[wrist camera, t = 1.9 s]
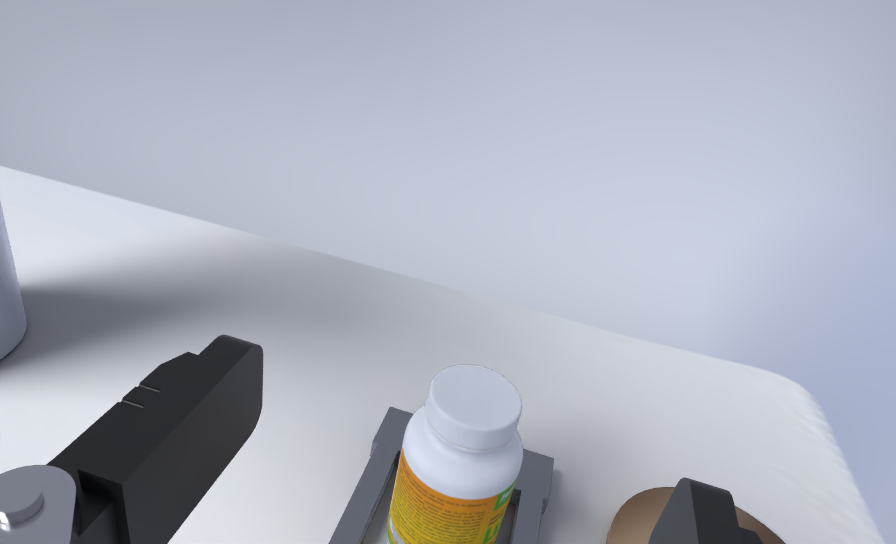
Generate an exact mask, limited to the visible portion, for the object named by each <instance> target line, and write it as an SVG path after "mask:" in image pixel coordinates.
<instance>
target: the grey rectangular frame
mask: <svg viewBox="0 0 896 544" xmlns="http://www.w3.org/2000/svg"><path fill="white" fill-rule="evenodd" d="M413 415H414V414H412V413H409V412H406V411H402V410H399V409H396V408H393V407H390V408H389V410H388V412H387V414H386V416H385V418H384V420H383V422H382V424H381V426H380V428H379V430H378V432H377V434H376V436H375V438H374V440H373V442H372V448H371V455H370V457H371V458H370V460H369V462H368V464H367V466H366V468H365V470H364V472H363V474H362V476H361V478H360V481H359V483H358V485H357V487H356V489H355V491H354V493H353V495H352V497H351V499H350V501H349V503H348V505H347V507H346V509H345V511H344V513H343V515H342V517H341V519H340V521H339V523H338V525H337V527H336V529H335V532H334V534H333V536H332V538H331V540H330V542H329V544H361V543H362V541H363V538H364V536H365V534H366V531H367V529H368V527H369V525H370V522H371V520H372V518H373V515H374V513H375V511H376V508H377V506H378V504H379V502H380V499H381V497H382V495H383V492H384V490H385V488H386V485H387V483H388V481H389V478H390V476H391V474H392V472H393V469H394V467H395V465H396V466H398V465H399V460H400V455H401V450H402V444H403V439H404V435H405V431H406V428H407V425H408V423H409V421H410V419H411V417H412V416H413ZM553 462H554V458H551V457H547V456H544V455H541V454H538V453H535V452H532V451H528V450H525V449H523V459H522V464H521V468H520V471H519V474H518V477H517V480H516V483H515V486H514V489H513V492H512V494H511V497H510V500H509V503H511V504H514V505H516V510H515V515H514V521H513V526H512V532H511V537H510V543H509V544H537V542H538V534H539V527H540V519H541V513H542V514H543V513H544V511H545V508H546V506H547V503H548V500H549V495H550V486H551V478H552V470H553Z"/></svg>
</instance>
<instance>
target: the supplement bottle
mask: <svg viewBox="0 0 896 544" xmlns="http://www.w3.org/2000/svg"><path fill="white" fill-rule="evenodd" d="M521 411H522V401H521V397H520V395H519V393H518V391H517V389H516V388H515V386H514V385H513V384H512V383H511V382H510V381H509V380H508V379H506V378H505V377H504V376H502V375H501V374H499V373H497V372H495V371H493V370H491V369H488V368H485V367H481V366H476V365H456V366H451V367H449V368H446V369H444V370H442V371H441V372H439V373H438V374H437V375H436V376H435V378H434V379H433V381H432V383H431V385H430V390H429V394H428V397H427V400H426V404H424V405H423V406H422V407H420V408H419V409H418V410H417V411H416V412H415V413H414V415H413V416H412V417H411V419H410V421H409V423H408V425H407V428H406V431H405V435H404V439H403V444H402V450H401V455H400V460H399V465H398V470H397V475H396V480H395V485H394V490H393V495H392V500H391V505H390V511H389V516H388V522H387V541H388V544H495V541H496V538H497V535H498V533H499V529H500V527H501V523H502V520H503V517H504V515H505V512H506V509H507V506H508V503H509V500H510V497H511V494H512V492H513V489H514V486H515V483H516V480H517V477H518V474H519V471H520V468H521V464H522V459H523V446H522V441H521V438H520V435H519V433H518V431H517V429H516V428H517V425H518V422H519V418H520V415H521Z"/></svg>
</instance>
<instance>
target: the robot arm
mask: <svg viewBox="0 0 896 544" xmlns="http://www.w3.org/2000/svg"><path fill="white" fill-rule="evenodd" d="M26 330H27V319H26V314H25V310H24V305H23V301H22V297H21V292H20V288H19V283H18V279H17V274H16V268H15V264H14V260H13V255H12V251H11V246H10V242H9V238H8V233H7V229H6V224H5V220H4V216H3V211H2V207H1V202H0V359H2V358H3V357H4V356H6V355H7V354H8V353H9V352H11V351H12V350H13V349H14V348H15V347H16V346H17V345H18V343H19V342H20V341H21V340H22V338H23V336H24V334H25V332H26ZM262 390H263V349H262V347H261V346H260V345H257V344H254V343H250V342H247V341H244V340H241V339H237V338H234V337H231V336H228V335H221V336H219V337H217V338H216V339H215V340H214V341H213V342H212V343H211V344H210V345H209V346H207V347H206V348H205V349H204V350H203V351H202V352H201V353H200V354H199V355H196V354H193V353H190V352H187V353H185V354H182V355H180V356H178V357H176V358H174V359H172V360H169V361H167V362H165V363H163V364H161V365H159V366H158V367H157V368H156V369H155V370H154V371H153V372H151V373H150V374H149V375H148V376H147V377H146V378H145V379H144V380H142V381H141V382H140V384H139V386H138V387H134V388H133V389H132V390H131V391H130V392H129V393H128V394H127V395H125V396H124V397H123V399H122V401H121V402H117V403H116V404H115V405H114V406H113V407H112V408H111V409H110V410H108V411H107V412H106V413H105V414H104V415H103V416H102V417H100V418H99V419H98V420H97V421H96V422H95V423H94V424H93V425H91V426H90V427H89V428H88V429H87V430H86V431H85V432H84V433H82V434H81V435H80V436H79V437H78V438H77V439H76V440H74V441H73V442H72V443H71V444H70V445H69V446H68V447H67V448H65V449H64V450H63V451H62V452H61V453H60V454H59V455H57V456H56V457H55V458H54V459H53V460H52V461H50V462H49V463H48V464H46V465H32V466H25V467H20V468H16V469H13V470H10V471H7V472H5V473H2V474H0V544H167V543H168V542H169V541H170V539H171V538H172V537H173V535H174V534H175V533H176V531H177V530H178V529H179V528H180V526H181V525H182V524H183V522H184V521H185V520H186V519H187V517H188V516H189V515H190V513H191V512H192V511H193V509H194V508H195V507H196V506H197V504H198V503H199V502H200V500H201V499H202V498H203V496H204V495H205V494H206V493H207V491H208V490H209V489H210V487H211V486H212V485H213V484H214V482H215V481H216V480H217V478H218V477H219V476H220V474H221V473H222V472H223V471H224V469H225V468H226V467H227V465H228V464H229V463H230V461H231V460H232V459H233V458H234V456H235V455H236V454H237V452H238V451H239V450H240V448H241V447H242V446H243V445H244V443H245V442H246V441H247V439H248V438H249V437H250V435H251V434H252V432H253V431H254V429H255V427H256V424H257V422H258V420H259V417H260V413H261V409H262ZM648 544H763V542H762V541H761V539H760V537H759V536H758V534H757V533H756V532H754V531H751V530H748V529H745V528H742V527H739V524H738V519H737V515H736V510H735V506H734V501H733V498H732V495H731V494H730V492H729V491H727V490H724V489H721V488H718V487H714V486H711V485H708V484H705V483H701V482H698V481H695V480H692V479H688V478H682V479H681V480H680V481H679V482H678V484H677V485H676V487H675V489H674V491H673V493H672V495H671V497H670V499H669V501H668V502H667V504H666V506H665V508H664V510H663V512H662V514H661V516H660V517H659V519H658V521H657V523H656V525H655V527H654V529H653V531H652V533H651V536H650V539H649V542H648Z"/></svg>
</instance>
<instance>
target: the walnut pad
mask: <svg viewBox="0 0 896 544" xmlns="http://www.w3.org/2000/svg"><path fill="white" fill-rule="evenodd" d="M674 489H675V487H660V488H653V489H649V490H645V491H643V492H641V493H638V494H636V495H635V496H633V497H632V498H630V499H629V500H628V501H627V502H626V503H625V504H624V505H623V506H622V507H621V508H620V510H619V511H618V513H617V514H616V516H615V518H614V520H613V522H612V525H611V527H610V530H609V532H608V536H607V541H606V544H648V542H649V539H650V536H651V533H652V531H653V529H654V527H655V525H656V523H657V521H658V519H659V517H660V516H661V514H662V512H663V510H664V508H665V506H666V504H667V502H668V501H669V499H670V497H671V495H672V493H673V491H674ZM735 510H736V515H737V519H738V524H739V527H742V528H745V529H748V530H751V531H754V532H756V533H757V534H758V536H759V537H760V539H761V541H762V542H763V544H785V543H784V542H783V541H782V540H781V539H780V538H779V537H778V536H777V535H776V534H775V533H773V532H772V531H771V530H770V529H769V528H767V527H766V526H765V525H764V524H762V523H761V522H760V521H758V520H757V519H755V518H754V517H753V516H751V515H749V514H748V513H746V512H745V511H743V510H741V509H740V508H738V507H736V506H735Z"/></svg>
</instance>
